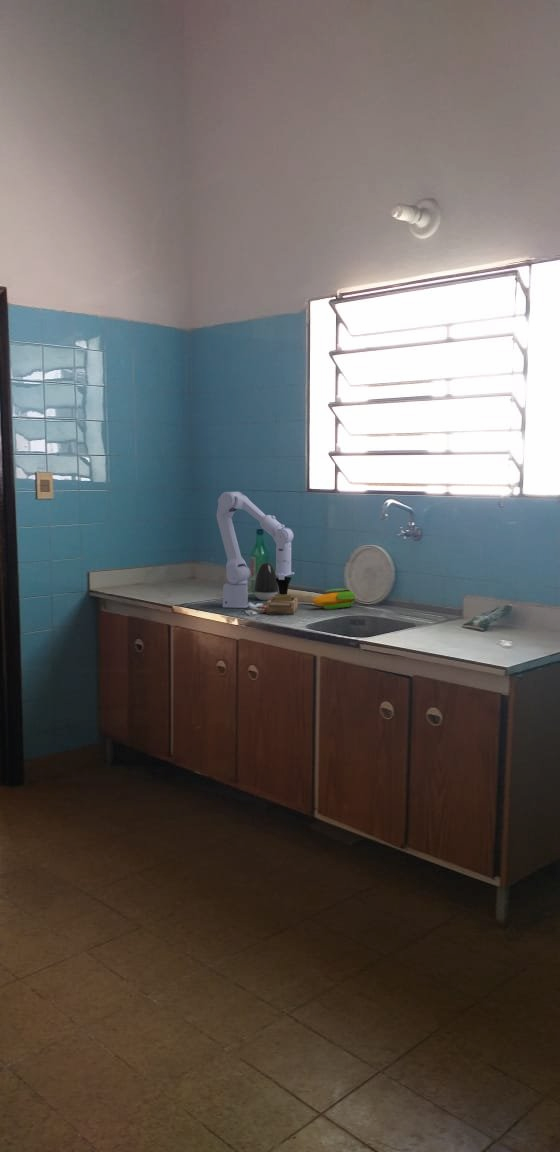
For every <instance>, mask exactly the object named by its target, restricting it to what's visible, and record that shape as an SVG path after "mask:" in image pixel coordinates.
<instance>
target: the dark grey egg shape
mask: <svg viewBox="0 0 560 1152" xmlns="http://www.w3.org/2000/svg"><path fill="white" fill-rule="evenodd" d="M275 572H276V568H274V566H273V564H272V563H270V562H267V561H266V562H263V563H261V564H260V566H259V567H258V569H257V572H256V574H255V580H254V584H253V592H254V595H255V597H256V598H257V599H258V600H260V601H268V600H269V599H270V598H271V597H275V594H279V587H278V584H277V582H276V578H278V575H276V574H275Z"/></svg>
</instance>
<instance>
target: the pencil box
mask: <svg viewBox="0 0 560 1152" xmlns="http://www.w3.org/2000/svg"><path fill="white" fill-rule="evenodd" d="M273 600H275V597H271V598H270V599H269V600H266V606H265V607H266V609H265V610H266V613H265V614H266V615H283V616H285V615H287V616H288V615H289V616H291V615H292V616H293V615H295V613H296V612H297V611H298V609H299V597H298V596H296V597H295V596H291V600H293V601H292V602H291V606H290V607H269V605H270V603H271V602H272V601H273Z"/></svg>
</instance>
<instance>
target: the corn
mask: <svg viewBox="0 0 560 1152" xmlns="http://www.w3.org/2000/svg"><path fill="white" fill-rule="evenodd" d="M324 592H325V593H323V594H320V595H318V596H315V597H314V598H313V599H312V601H311V602H312V604H313V605H315V606H320V607H322V608H323V609H325V610H337V609H338V608H341V609H346V608H345V607H348V608H349V607H351V606H352V605H353V604H354V601H355V600H356V595H355V593H354V592H353V591H351V590H350V589H347V588H341V587H340V588H338V587H337V588H332V589H328V590H325V591H324ZM326 592H327V593H326ZM338 610H339V609H338Z"/></svg>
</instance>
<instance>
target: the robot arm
mask: <svg viewBox="0 0 560 1152" xmlns="http://www.w3.org/2000/svg"><path fill="white" fill-rule="evenodd" d="M217 504H218V505H217V509H216V510H217V511H216V520H217V524H218V527H219V532H220V535H221V536H220V537H221V539H222V540H221V541H222V543H223V547H224V551H225V555H226V559H227V562H226V565H225V568H226V571H225V572H226V573H225V578H226V580H227V581H228V583H224V584H223V586H222V587H223V588H222V608H227V609H228V608H233V609H234V608H235V609H237V608H238V609H247V608H249V607H250V605H251V604H250V603H249V601H248V600H249V599H248V598H249V597H248V596H249V595H248V594H249V593H248V592H249V590H248V589H249V584H248V583H249V582H248V580H249V579H250V578H251V574H252V573H251V570H250V569H251V568H249V567H248V565H247V563H246V560H244V558H243V557H242V554H241V550H240V547H239V542H238V539H237V535H236V531H235V527H234V522H233V519H232V518H233V515H234V514H235V512H236V511H237V510H243V511H245V512H246V513H247V514H249V515H250V516H252V518H254V519H255V520H257V521H258V522H259V525H260V528H261V529H263V531H265V532H267V534H269V535H270V536H271V537H272V538H273V541H274V542H275V544H276V547H275V554H276V555H275V574H276V576H277V578H276V582H277V584H278V587H279V591H278V593H279V594H286V595H288V590H289V586H290V582H291V580H292V577H290V576H292V575H295V572H294V571H292V541H293V540H294V536H295V535H294V531H293V530H292V529H291V528H290V527H285V526H286V525H285V524H282V523H280V522H279V521H278V520H277V519H276V518H277V517H276V516H275V515H271V514H267V515H266V514H265V513H264V512H263V511H262V510H261V509H260V508H259V507H258V506H257V505H255V504H254V503H253V502H252V500H250V499H249V498H248V496H246V495H245V494H243V493H242V492H241V491H238V490H237V491H225V492H222V493H221V495H220V496H219V498H218V499H217Z"/></svg>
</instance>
